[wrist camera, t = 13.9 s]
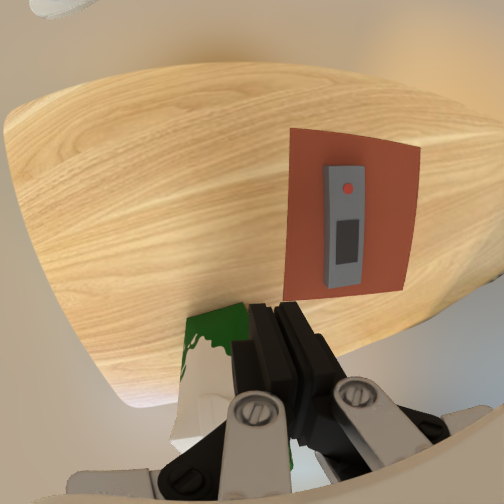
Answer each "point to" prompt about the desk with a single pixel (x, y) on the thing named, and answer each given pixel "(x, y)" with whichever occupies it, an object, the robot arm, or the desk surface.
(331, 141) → the mat
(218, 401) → the milk carton
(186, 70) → the desk surface
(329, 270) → the remote
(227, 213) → the desk surface
